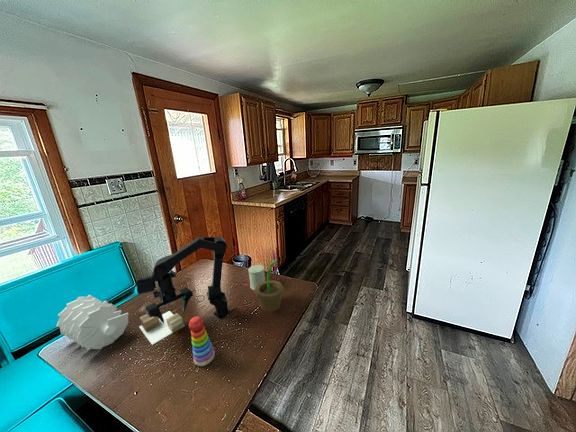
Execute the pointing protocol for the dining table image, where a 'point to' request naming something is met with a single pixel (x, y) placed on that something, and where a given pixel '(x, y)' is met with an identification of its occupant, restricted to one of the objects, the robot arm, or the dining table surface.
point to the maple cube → (175, 322)
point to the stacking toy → (200, 342)
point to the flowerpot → (270, 292)
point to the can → (256, 275)
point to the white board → (158, 330)
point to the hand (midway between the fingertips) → (173, 316)
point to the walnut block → (149, 322)
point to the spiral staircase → (92, 322)
